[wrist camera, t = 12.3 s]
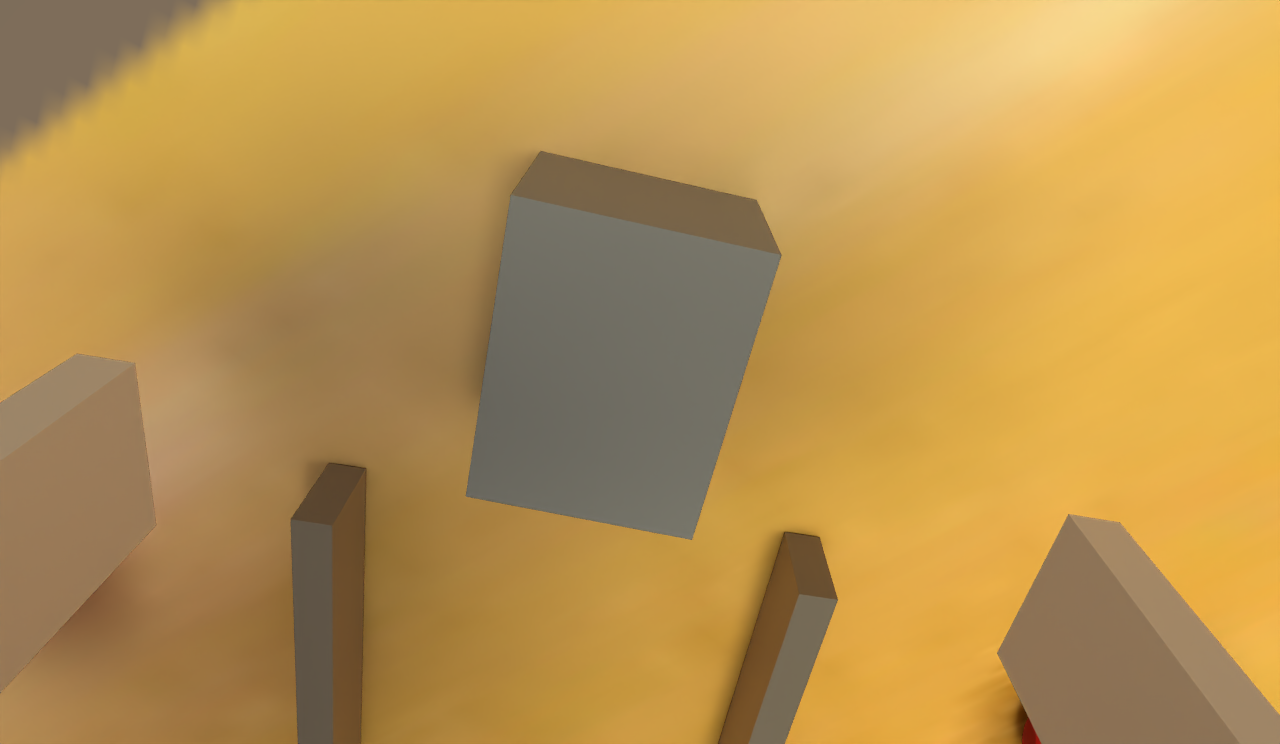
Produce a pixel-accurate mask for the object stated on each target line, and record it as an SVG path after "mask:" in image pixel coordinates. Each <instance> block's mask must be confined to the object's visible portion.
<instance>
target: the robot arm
mask: <svg viewBox="0 0 1280 744" xmlns="http://www.w3.org/2000/svg"><path fill="white" fill-rule="evenodd" d="M155 526H156V519H155V511H154V503H153V496H152V488H151V481H150V473H149V466H148V458H147V451H146V443H145V435H144V428H143V420H142V413H141V405H140V398H139V390H138V382H137V375H136V367H135V363H131V362H125V361H119V360H113V359H107V358H101V357H94V356H88V355H82V354H76V355H74V356H73V357H71V358H69V359H68V360H66V361H65V362H63V363H62V364H60V365H59V366H57V367H55V368H54V369H52V370H51V371H49V372H48V373H46V374H44V375H43V376H41V377H40V378H38V379H37V380H35V381H34V382H32V383H30V384H29V385H27V386H26V387H24V388H23V389H21V390H19V391H18V392H16V393H15V394H13V395H12V396H10V397H9V398H7V399H5V400H4V401H2V402H1V403H0V693H1V692H2V691H3V690H4V689H5V687H6V686H7V685H8V684H9V683H10V682H11V681H12V680H13V679H14V678H15V677H16V676H17V675H18V673H19V672H20V671H21V670H22V669H23V668H24V667H25V666H26V665H27V664H28V663H29V662H30V661H31V660H32V658H33V657H34V656H35V655H36V654H37V653H38V652H39V651H40V650H41V649H42V648H43V647H44V646H45V644H46V643H47V642H48V641H49V640H50V639H51V638H52V637H53V636H54V635H55V634H56V633H57V632H58V630H59V629H60V628H61V627H62V626H63V625H64V624H65V623H66V622H67V621H68V620H69V619H70V618H71V616H72V615H73V614H74V613H75V612H76V611H77V610H78V609H79V608H80V607H81V606H82V605H83V604H84V602H85V601H86V600H87V599H88V598H89V597H90V596H91V595H92V594H93V593H94V592H95V591H96V590H97V589H98V587H99V586H100V585H101V584H102V583H103V582H104V581H105V580H106V579H107V578H108V577H109V576H110V575H111V573H112V572H113V571H114V570H115V569H116V568H117V567H118V566H119V565H120V564H121V563H122V562H123V561H124V559H125V558H126V557H127V556H128V555H129V554H130V553H131V552H132V551H133V550H134V549H135V548H136V547H137V545H138V544H139V543H140V542H141V541H142V540H143V539H144V538H145V537H146V536H147V535H148V534H149V533H150V531H151V530H152V529H153V528H154V527H155ZM997 654H998V656H999V658H1000V660H1001V662H1002V664H1003V666H1004V668H1005V670H1006V672H1007V674H1008V676H1009V678H1010V680H1011V683H1012V685H1013V687H1014V689H1015V691H1016V693H1017V695H1018V697H1019V699H1020V701H1021V703H1022V705H1023V707H1024V709H1025V711H1026V713H1027V715H1028V717H1029V719H1030V721H1031V723H1032V726H1033V728H1034V730H1035V732H1036V734H1037V736H1038V738H1039V740H1040V742H1041V744H1280V715H1279V714H1278V713H1277V711H1276V710H1275V709H1274V708H1273V707H1272V705H1271V704H1270V703H1269V702H1268V701H1267V699H1266V698H1265V697H1264V696H1263V695H1262V693H1261V692H1260V691H1259V690H1258V688H1257V687H1256V686H1255V685H1254V684H1253V682H1252V681H1251V680H1250V679H1249V678H1248V676H1247V675H1246V674H1245V673H1244V672H1243V670H1242V669H1241V668H1240V667H1239V666H1238V664H1237V663H1236V662H1235V661H1234V660H1233V658H1232V657H1231V656H1230V655H1229V654H1228V652H1227V651H1226V650H1225V649H1224V648H1223V646H1222V645H1221V644H1220V643H1219V641H1218V640H1217V639H1216V638H1215V637H1214V635H1213V634H1212V633H1211V632H1210V631H1209V629H1208V628H1207V627H1206V626H1205V625H1204V623H1203V622H1202V621H1201V620H1200V619H1199V617H1198V616H1197V615H1196V614H1195V613H1194V611H1193V610H1192V609H1191V608H1190V607H1189V605H1188V604H1187V603H1186V602H1185V600H1184V599H1183V598H1182V597H1181V596H1180V594H1179V593H1178V592H1177V591H1176V590H1175V588H1174V587H1173V586H1172V585H1171V584H1170V582H1169V581H1168V580H1167V579H1166V578H1165V576H1164V575H1163V574H1162V573H1161V572H1160V570H1159V569H1158V568H1157V567H1156V566H1155V564H1154V563H1153V562H1152V561H1151V559H1150V558H1149V557H1148V556H1147V555H1146V553H1145V552H1144V551H1143V550H1142V549H1141V547H1140V546H1139V545H1138V544H1137V543H1136V541H1135V540H1134V539H1133V538H1132V537H1131V535H1130V534H1129V533H1128V532H1127V531H1126V529H1125V528H1124V527H1123V526H1122V525H1121V523H1120V522H1114V521H1108V520H1101V519H1095V518H1089V517H1083V516H1077V515H1070V514H1068V516H1067V518H1066V520H1065V522H1064V524H1063V526H1062V528H1061V530H1060V532H1059V534H1058V536H1057V538H1056V540H1055V542H1054V544H1053V546H1052V547H1051V549H1050V551H1049V553H1048V555H1047V557H1046V559H1045V561H1044V563H1043V565H1042V567H1041V569H1040V571H1039V573H1038V575H1037V577H1036V579H1035V581H1034V582H1033V584H1032V586H1031V588H1030V590H1029V592H1028V594H1027V596H1026V598H1025V600H1024V602H1023V604H1022V606H1021V608H1020V610H1019V612H1018V614H1017V616H1016V617H1015V619H1014V621H1013V623H1012V625H1011V627H1010V629H1009V631H1008V633H1007V635H1006V637H1005V639H1004V641H1003V643H1002V645H1001V647H1000V649H999V651H998V652H997Z"/></svg>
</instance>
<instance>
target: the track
mask: <svg viewBox="0 0 1280 744" xmlns="http://www.w3.org/2000/svg"><path fill="white" fill-rule="evenodd" d="M365 500H366V469H365V468H358V467H352V466H345V465H339V464H332V463H329V464H328V465H327V467H326V468H325V470H324V471H323V473H322V474H321V476H320V477H319V478H318V480H317V481H316V483H315V484H314V486H313V487H312V489H311V490H310V492H309V493H308V495H307V496H306V498H305V499H304V501H303V502H302V503H301V505H300V506H299V508H298V509H297V511H296V512H295V514H294V515H293V517H292V518H291V546H292V576H293V607H294V638H295V668H296V699H297V729H298V744H361V707H362V655H363V603H364V551H365ZM837 601H838V599H837V595H836V592H835V588H834V585H833V582H832V578H831V575H830V571H829V568H828V565H827V561H826V558H825V554H824V551H823V547H822V544H821V541H820V537H814V536H807V535H801V534H794V533H788V532H785V533H784V536H783V540H782V543H781V546H780V549H779V552H778V555H777V559H776V562H775V565H774V568H773V571H772V574H771V578H770V581H769V584H768V587H767V590H766V594H765V597H764V600H763V603H762V606H761V609H760V613H759V616H758V619H757V622H756V625H755V629H754V632H753V635H752V638H751V641H750V644H749V648H748V651H747V654H746V657H745V660H744V663H743V667H742V670H741V673H740V676H739V679H738V683H737V686H736V689H735V692H734V695H733V698H732V702H731V705H730V708H729V711H728V714H727V718H726V721H725V724H724V727H723V730H722V733H721V737H720V740H719V743H718V744H785V741H786V739H787V736H788V733H789V731H790V728H791V725H792V723H793V720H794V717H795V714H796V712H797V709H798V706H799V704H800V701H801V698H802V695H803V693H804V690H805V687H806V685H807V682H808V679H809V676H810V674H811V671H812V668H813V666H814V663H815V660H816V658H817V655H818V652H819V649H820V647H821V644H822V641H823V639H824V636H825V633H826V630H827V628H828V625H829V622H830V620H831V617H832V614H833V612H834V609H835V606H836V603H837Z"/></svg>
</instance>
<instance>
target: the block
mask: <svg viewBox="0 0 1280 744" xmlns="http://www.w3.org/2000/svg"><path fill="white" fill-rule="evenodd" d="M780 258H781V253H780V251H779V249H778V246H777V244H776V242H775V240H774V238H773V235H772V233H771V231H770V229H769V226H768V224H767V222H766V220H765V218H764V215H763V213H762V211H761V209H760V206H759V204H758V202H757V200H754V199H749V198H745V197H740V196H736V195H732V194H727V193H723V192H718V191H714V190H710V189H705V188H701V187H696V186H692V185H688V184H683V183H679V182H674V181H670V180H666V179H661V178H657V177H652V176H648V175H644V174H639V173H635V172H630V171H626V170H622V169H617V168H613V167H608V166H604V165H600V164H595V163H591V162H586V161H582V160H578V159H573V158H569V157H564V156H560V155H556V154H551V153H547V152H543V151H541V152H540V153H539V155H538V156H537V157H536V159H535V160H534V162H533V163H532V165H531V166H530V168H529V169H528V171H527V172H526V173H525V175H524V176H523V178H522V179H521V181H520V182H519V184H518V185H517V186H516V188H515V189H514V191H513V192H512V194H511V197H510V203H509V210H508V217H507V223H506V230H505V237H504V243H503V250H502V257H501V264H500V270H499V277H498V284H497V290H496V297H495V304H494V311H493V317H492V324H491V331H490V337H489V344H488V351H487V358H486V364H485V371H484V378H483V384H482V391H481V398H480V404H479V411H478V418H477V425H476V431H475V438H474V445H473V451H472V458H471V465H470V472H469V478H468V485H467V492H466V497H471V498H476V499H482V500H487V501H492V502H497V503H502V504H508V505H513V506H518V507H523V508H529V509H534V510H539V511H544V512H549V513H555V514H560V515H565V516H570V517H576V518H581V519H586V520H591V521H596V522H602V523H607V524H612V525H617V526H622V527H628V528H633V529H638V530H643V531H649V532H654V533H659V534H664V535H669V536H675V537H680V538H685V539H690V540H692V538H693V535H694V532H695V529H696V525H697V522H698V519H699V516H700V513H701V510H702V506H703V503H704V500H705V497H706V494H707V490H708V487H709V484H710V481H711V478H712V475H713V471H714V468H715V465H716V462H717V459H718V455H719V452H720V449H721V446H722V443H723V440H724V436H725V433H726V430H727V427H728V424H729V420H730V417H731V414H732V411H733V408H734V404H735V401H736V398H737V395H738V392H739V389H740V385H741V382H742V379H743V376H744V373H745V369H746V366H747V363H748V360H749V357H750V354H751V350H752V347H753V344H754V341H755V338H756V334H757V331H758V328H759V325H760V322H761V319H762V315H763V312H764V309H765V306H766V303H767V299H768V296H769V293H770V290H771V287H772V284H773V280H774V277H775V274H776V271H777V268H778V264H779V261H780Z"/></svg>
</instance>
